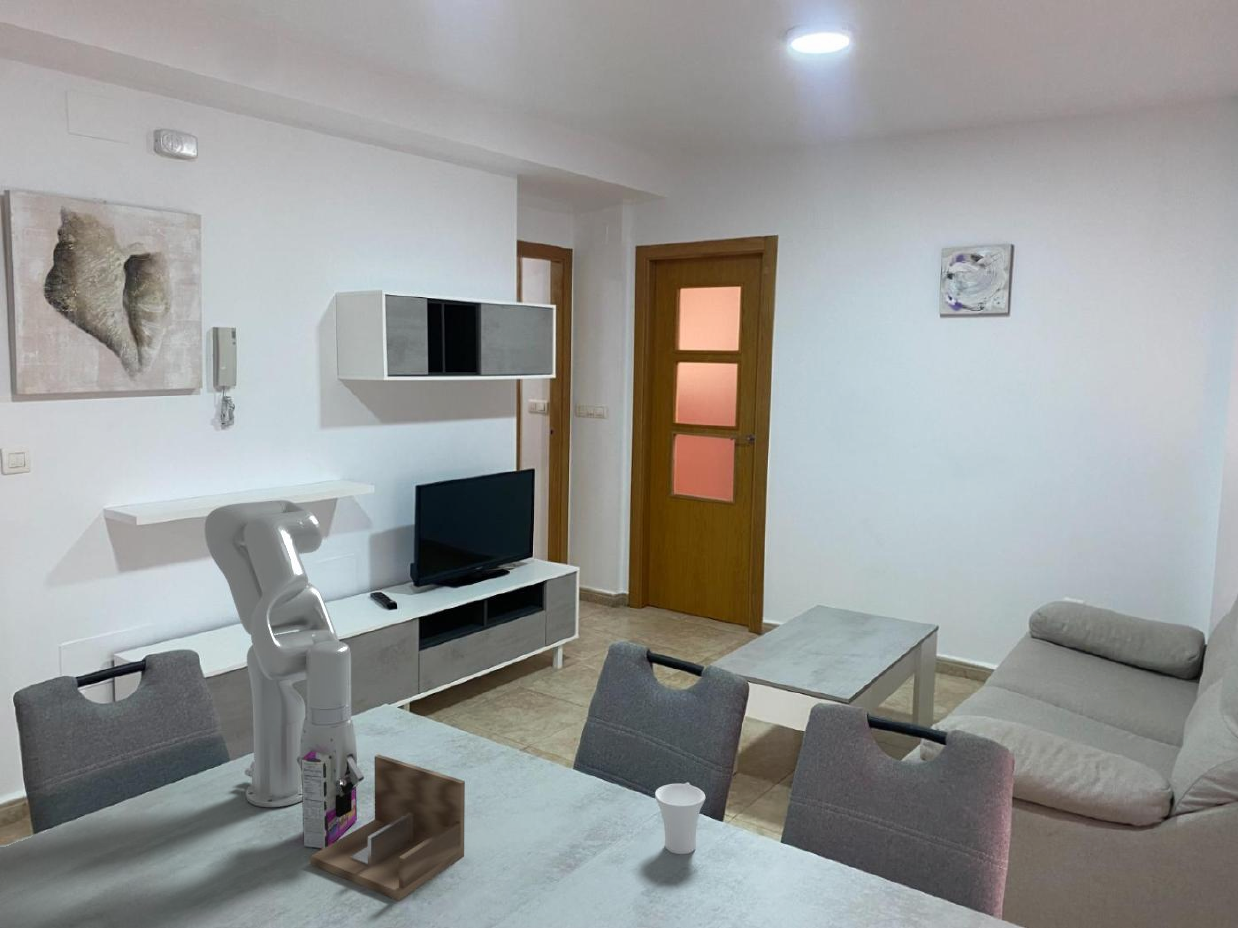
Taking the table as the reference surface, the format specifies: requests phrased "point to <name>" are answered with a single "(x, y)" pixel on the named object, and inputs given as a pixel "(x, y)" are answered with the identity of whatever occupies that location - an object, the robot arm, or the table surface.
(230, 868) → the table surface
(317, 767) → the candy bar box
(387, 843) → the bookend
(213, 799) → the table surface
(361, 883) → the shelf
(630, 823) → the table surface
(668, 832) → the cup
